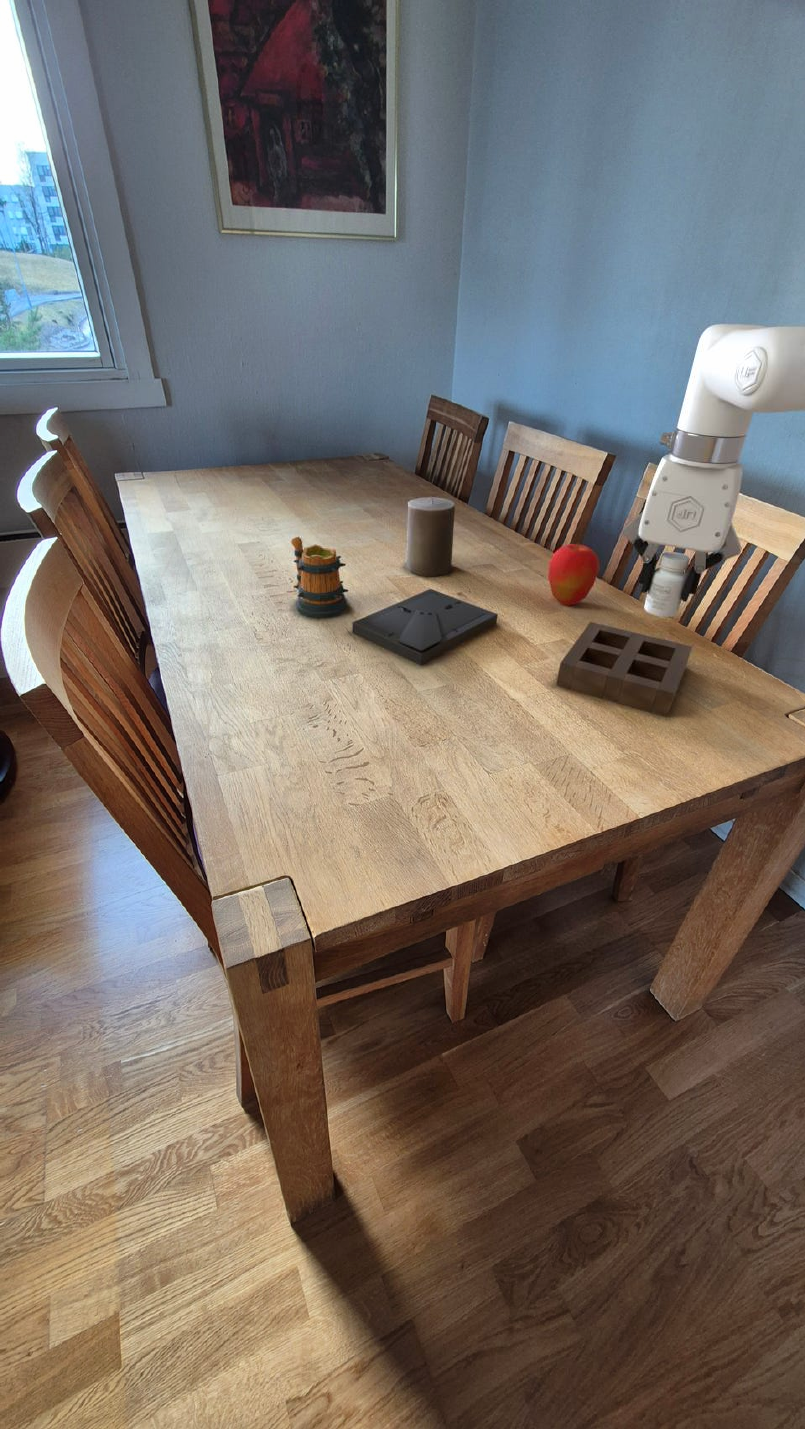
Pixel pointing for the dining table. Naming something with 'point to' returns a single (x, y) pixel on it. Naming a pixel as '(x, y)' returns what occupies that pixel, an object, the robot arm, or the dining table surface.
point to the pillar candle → (430, 536)
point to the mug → (318, 581)
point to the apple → (572, 573)
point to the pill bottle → (667, 585)
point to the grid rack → (625, 668)
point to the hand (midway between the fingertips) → (665, 592)
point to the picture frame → (424, 625)
